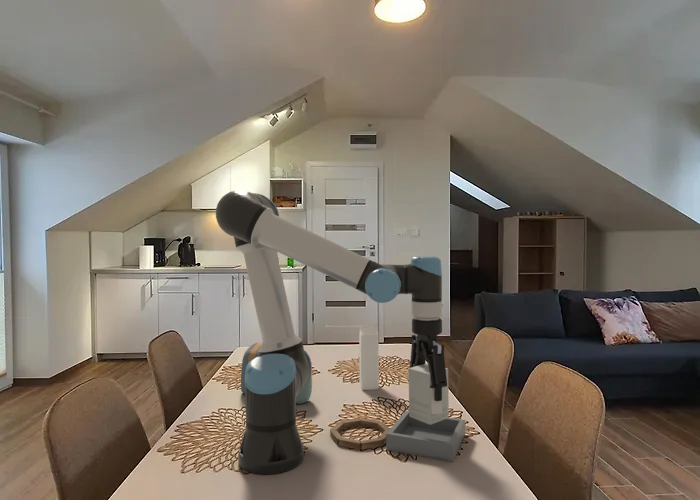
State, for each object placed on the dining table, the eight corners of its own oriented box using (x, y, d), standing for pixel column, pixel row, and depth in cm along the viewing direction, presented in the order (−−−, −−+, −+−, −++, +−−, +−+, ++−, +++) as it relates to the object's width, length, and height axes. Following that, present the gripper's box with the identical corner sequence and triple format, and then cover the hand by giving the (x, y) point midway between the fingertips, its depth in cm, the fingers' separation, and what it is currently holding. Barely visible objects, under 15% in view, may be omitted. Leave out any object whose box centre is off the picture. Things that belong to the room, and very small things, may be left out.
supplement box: (449, 418, 117) (449, 368, 117) (429, 425, 113) (429, 374, 112) (427, 409, 123) (427, 362, 123) (407, 416, 119) (407, 367, 118)
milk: (378, 389, 159) (378, 325, 158) (361, 390, 158) (361, 326, 158) (376, 383, 165) (376, 322, 164) (359, 384, 165) (359, 322, 164)
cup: (308, 406, 143) (307, 374, 143) (284, 405, 145) (283, 373, 144) (314, 398, 151) (314, 367, 150) (292, 396, 152) (291, 366, 152)
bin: (452, 462, 107) (452, 445, 107) (386, 449, 114) (386, 433, 114) (465, 434, 122) (465, 419, 122) (405, 425, 129) (405, 410, 128)
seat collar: (377, 452, 112) (377, 446, 112) (322, 442, 118) (322, 436, 118) (396, 429, 126) (396, 423, 126) (346, 420, 132) (346, 415, 132)
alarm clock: (251, 380, 170) (250, 337, 170) (295, 380, 170) (295, 337, 169) (239, 395, 154) (238, 348, 153) (288, 395, 153) (287, 348, 153)
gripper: (462, 324, 108) (462, 420, 108) (421, 310, 129) (422, 391, 129) (432, 326, 106) (433, 424, 106) (396, 312, 126) (397, 394, 127)
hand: (427, 406), depth 118 cm, fingers closed on supplement box, 9 cm apart
